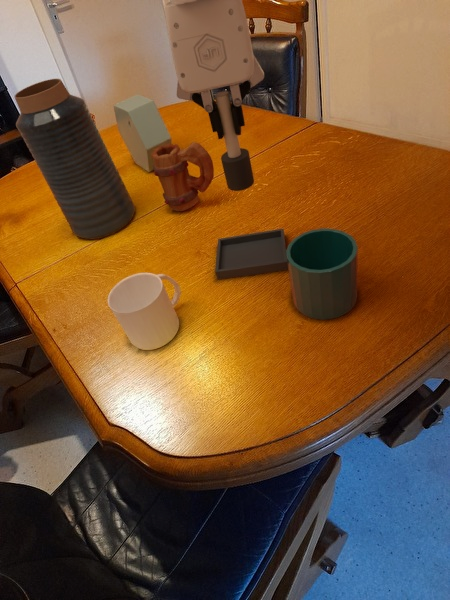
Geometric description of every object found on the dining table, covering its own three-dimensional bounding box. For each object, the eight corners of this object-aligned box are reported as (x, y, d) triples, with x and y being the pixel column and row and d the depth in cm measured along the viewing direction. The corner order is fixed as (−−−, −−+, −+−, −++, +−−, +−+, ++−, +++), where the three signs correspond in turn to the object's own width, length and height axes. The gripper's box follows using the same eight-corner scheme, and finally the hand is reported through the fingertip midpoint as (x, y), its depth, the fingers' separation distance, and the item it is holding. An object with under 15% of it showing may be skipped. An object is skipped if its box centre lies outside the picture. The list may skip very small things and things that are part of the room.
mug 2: (160, 214, 97) (137, 156, 87) (174, 196, 102) (154, 138, 92) (215, 215, 92) (198, 153, 81) (227, 195, 97) (212, 134, 86)
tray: (284, 236, 80) (283, 228, 79) (288, 270, 73) (286, 261, 72) (220, 246, 83) (217, 238, 81) (217, 279, 76) (214, 271, 74)
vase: (118, 241, 93) (46, 99, 71) (62, 241, 99) (-20, 109, 77) (147, 201, 103) (92, 67, 82) (94, 203, 109) (30, 78, 88)
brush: (254, 174, 67) (237, 85, 57) (254, 188, 64) (236, 96, 54) (228, 179, 68) (207, 92, 58) (227, 193, 65) (205, 103, 55)
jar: (350, 272, 69) (350, 223, 62) (362, 315, 62) (363, 266, 55) (291, 280, 71) (284, 234, 64) (295, 323, 64) (288, 276, 57)
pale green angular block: (172, 172, 123) (171, 123, 103) (150, 183, 120) (145, 135, 101) (142, 132, 126) (136, 77, 106) (120, 142, 124) (110, 88, 104)
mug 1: (145, 360, 65) (122, 322, 59) (121, 332, 71) (98, 294, 65) (203, 318, 69) (188, 278, 63) (176, 294, 75) (159, 256, 69)
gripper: (128, 3, 46) (176, 155, 59) (265, -35, 43) (285, 133, 56) (140, -8, 52) (181, 133, 64) (263, -42, 49) (282, 112, 61)
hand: (230, 132), depth 60 cm, fingers closed on brush, 2 cm apart
